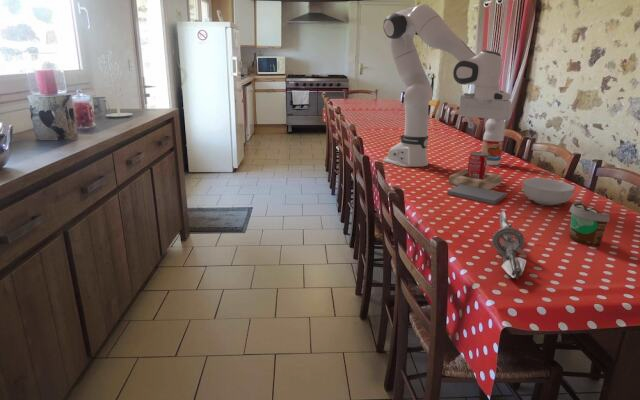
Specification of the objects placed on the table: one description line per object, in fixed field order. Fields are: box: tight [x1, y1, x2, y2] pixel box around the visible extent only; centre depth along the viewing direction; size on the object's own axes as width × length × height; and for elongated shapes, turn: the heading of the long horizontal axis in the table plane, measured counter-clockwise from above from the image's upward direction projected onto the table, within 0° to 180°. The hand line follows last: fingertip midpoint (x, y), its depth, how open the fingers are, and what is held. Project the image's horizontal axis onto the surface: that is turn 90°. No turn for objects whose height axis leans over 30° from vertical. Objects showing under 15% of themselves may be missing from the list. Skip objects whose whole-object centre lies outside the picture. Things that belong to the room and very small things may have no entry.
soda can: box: [467, 151, 487, 180], centre depth 179 cm, size 7×7×13 cm
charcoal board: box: [447, 184, 507, 205], centre depth 165 cm, size 18×12×2 cm, turn 49°
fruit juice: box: [480, 118, 506, 166], centre depth 211 cm, size 9×9×28 cm
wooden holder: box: [448, 168, 503, 190], centre depth 180 cm, size 16×16×4 cm
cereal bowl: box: [522, 177, 575, 206], centre depth 157 cm, size 17×17×7 cm
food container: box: [569, 200, 611, 247], centre depth 124 cm, size 12×6×10 cm, turn 5°
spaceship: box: [491, 210, 527, 279], centre depth 115 cm, size 8×35×8 cm
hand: (482, 129), depth 173 cm, fingers open, 8 cm apart
